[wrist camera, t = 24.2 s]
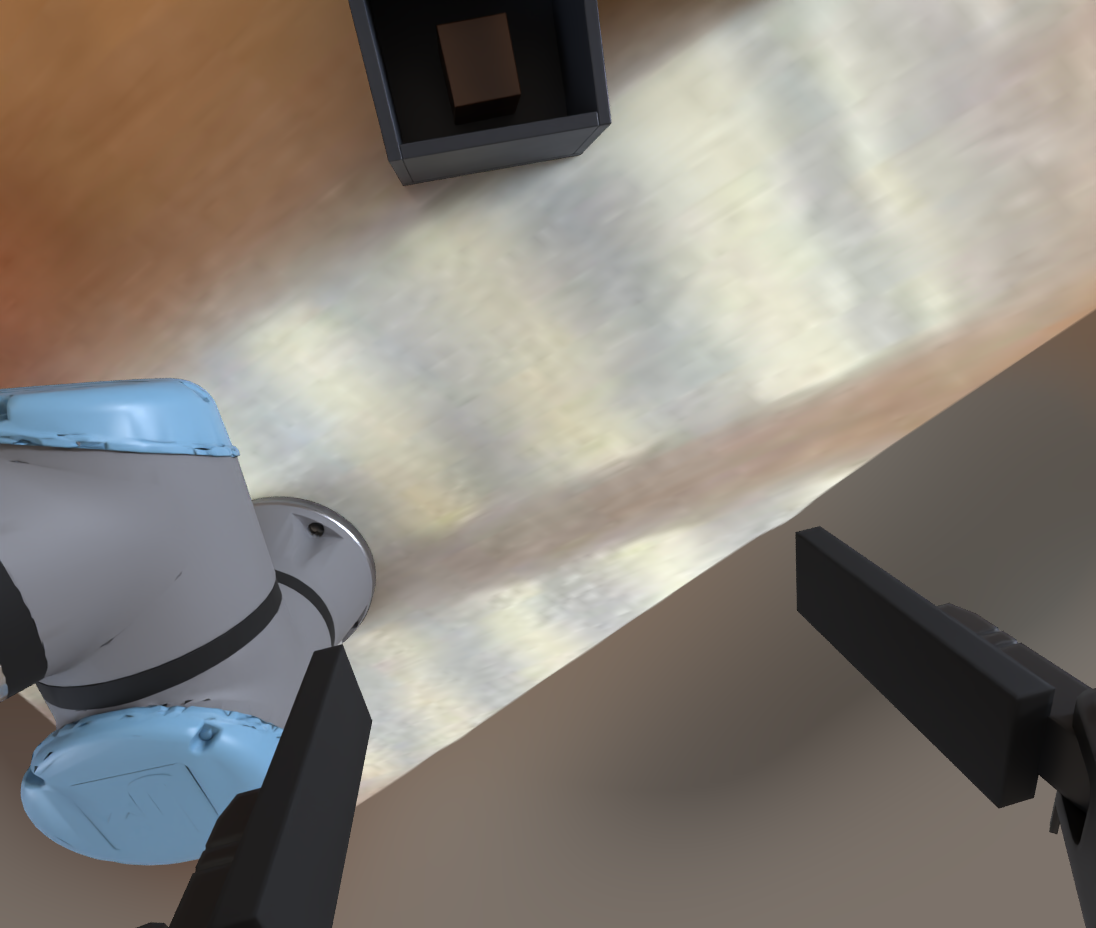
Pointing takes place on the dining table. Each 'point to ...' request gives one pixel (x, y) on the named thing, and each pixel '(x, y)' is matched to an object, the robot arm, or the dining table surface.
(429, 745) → the dining table surface
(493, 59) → the block
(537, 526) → the dining table surface
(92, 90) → the dining table surface
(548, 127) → the bin
